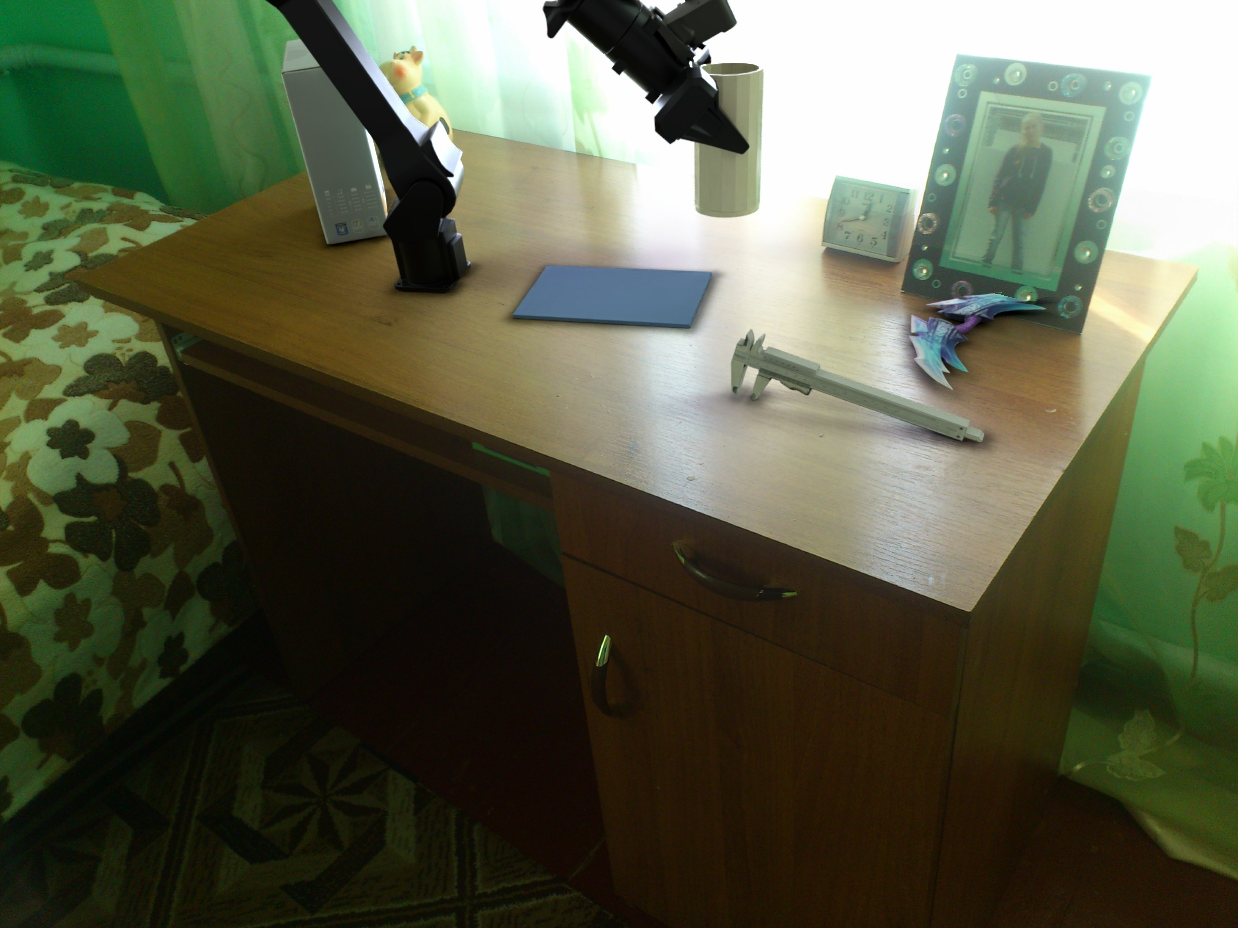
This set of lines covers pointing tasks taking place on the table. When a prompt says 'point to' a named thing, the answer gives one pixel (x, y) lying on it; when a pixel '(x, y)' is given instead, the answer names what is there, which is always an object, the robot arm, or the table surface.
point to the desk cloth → (615, 296)
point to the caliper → (837, 388)
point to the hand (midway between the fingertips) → (743, 138)
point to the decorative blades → (955, 329)
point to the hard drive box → (334, 151)
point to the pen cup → (721, 174)
